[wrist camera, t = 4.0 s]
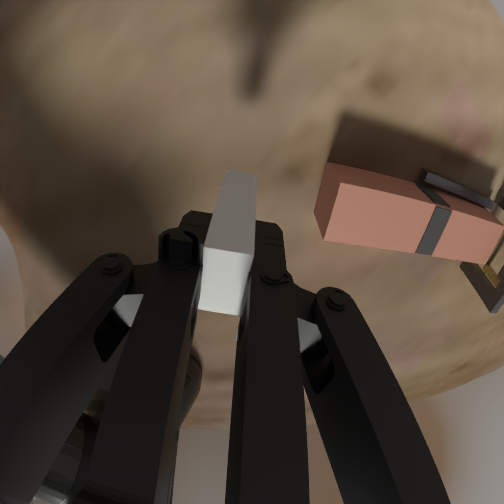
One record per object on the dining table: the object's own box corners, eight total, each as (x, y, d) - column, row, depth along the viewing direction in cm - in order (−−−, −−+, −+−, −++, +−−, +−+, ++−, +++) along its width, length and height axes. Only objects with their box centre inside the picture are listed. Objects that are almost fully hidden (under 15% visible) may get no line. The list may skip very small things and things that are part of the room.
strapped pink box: (312, 211, 21) (323, 242, 18) (326, 158, 19) (341, 181, 15) (463, 240, 22) (484, 266, 19) (480, 202, 20) (506, 226, 17)
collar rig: (386, 251, 23) (419, 317, 17) (428, 153, 18) (489, 198, 12) (502, 276, 25) (531, 320, 19) (537, 212, 19) (576, 252, 13)
